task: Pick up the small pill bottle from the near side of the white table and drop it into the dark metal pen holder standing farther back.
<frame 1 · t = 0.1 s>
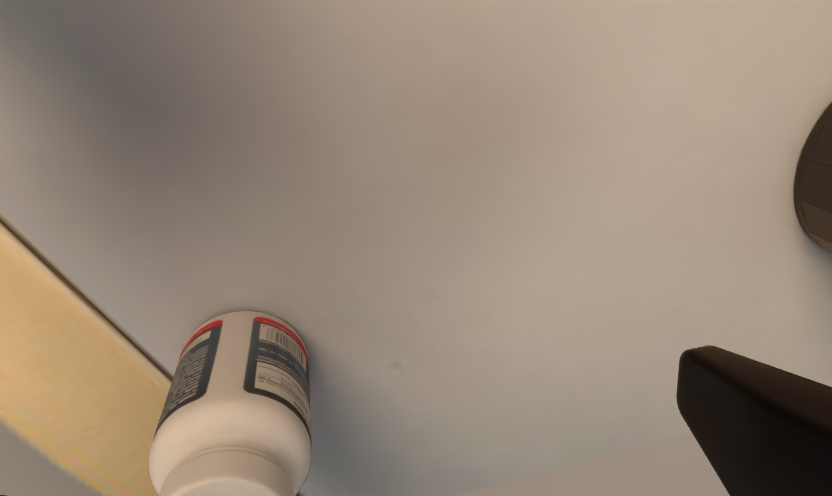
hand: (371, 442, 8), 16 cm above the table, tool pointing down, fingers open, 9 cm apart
pill bottle: (247, 358, 25), on the table
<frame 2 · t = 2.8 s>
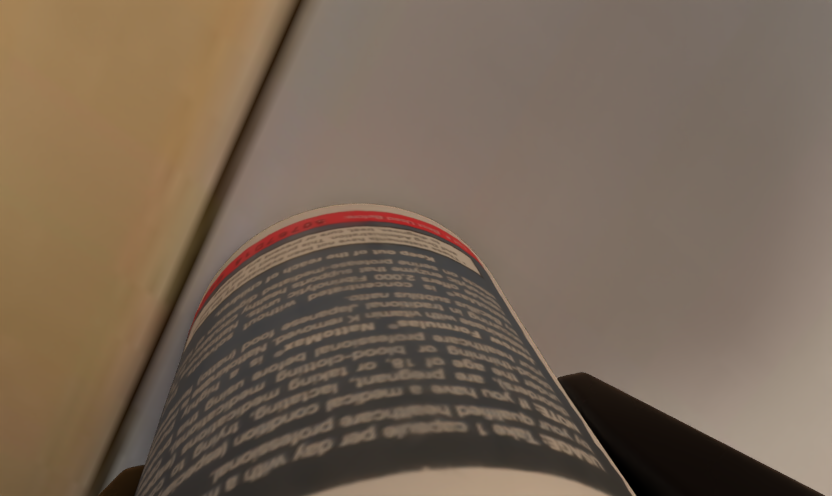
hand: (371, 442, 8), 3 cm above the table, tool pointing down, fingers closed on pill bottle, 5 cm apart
pill bottle: (353, 336, 10), on the table, touching gripper
when the fingers open (7 cm above the table, at t = 8.9 s): pill bottle stays where it is, resting on pen holder.
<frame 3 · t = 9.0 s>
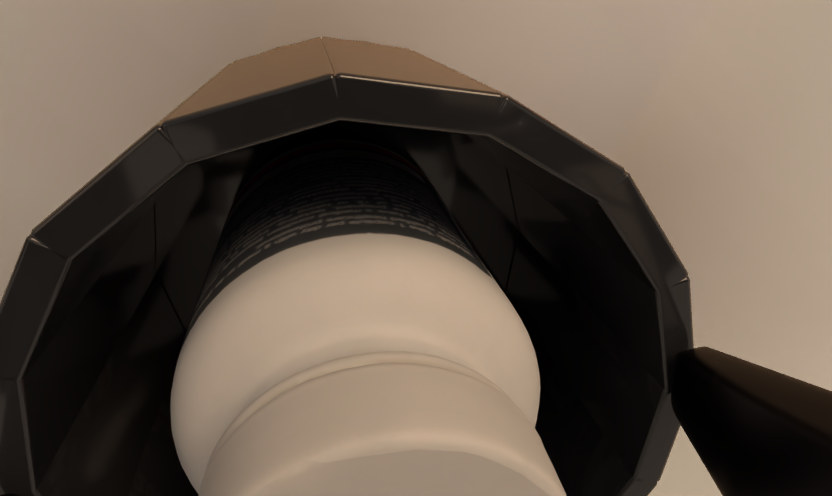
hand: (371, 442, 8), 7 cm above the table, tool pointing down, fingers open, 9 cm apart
pill bottle: (340, 243, 14), resting on pen holder
pen holder: (343, 242, 14), on the table
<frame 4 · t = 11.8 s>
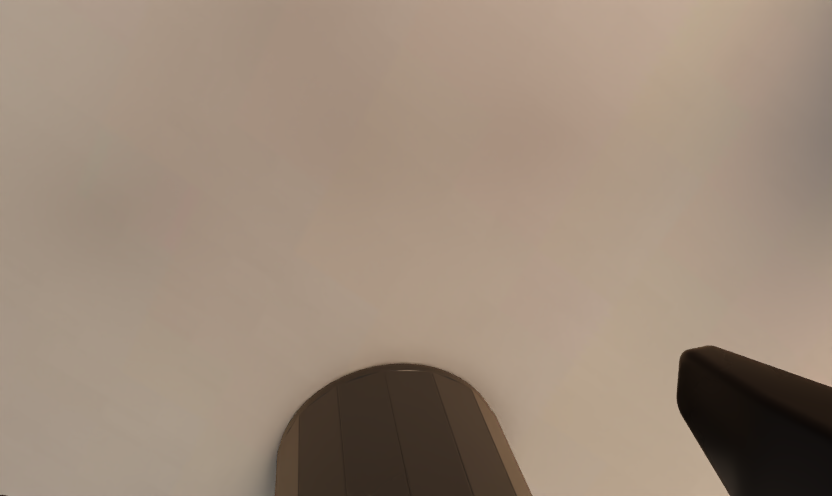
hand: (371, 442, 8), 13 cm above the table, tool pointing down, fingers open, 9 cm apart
pen holder: (390, 456, 25), on the table
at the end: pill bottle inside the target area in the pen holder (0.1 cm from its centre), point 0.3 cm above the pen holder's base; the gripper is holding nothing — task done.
